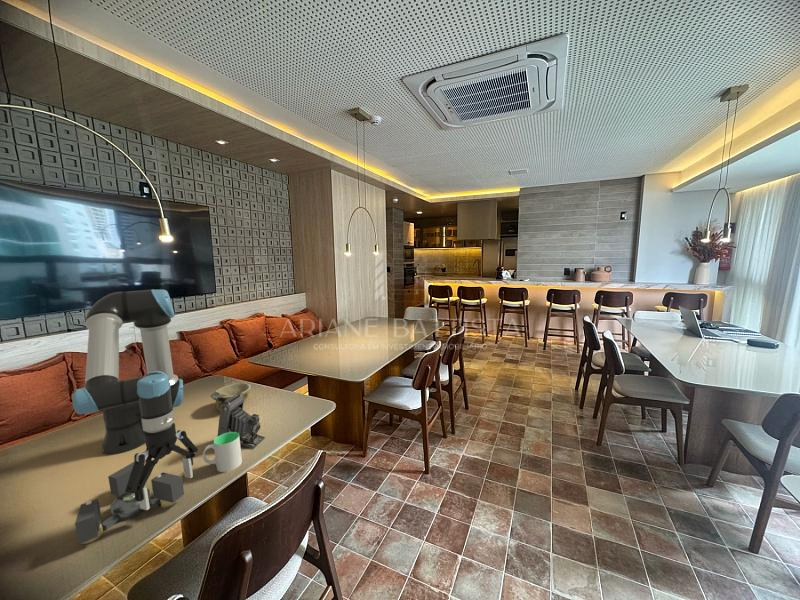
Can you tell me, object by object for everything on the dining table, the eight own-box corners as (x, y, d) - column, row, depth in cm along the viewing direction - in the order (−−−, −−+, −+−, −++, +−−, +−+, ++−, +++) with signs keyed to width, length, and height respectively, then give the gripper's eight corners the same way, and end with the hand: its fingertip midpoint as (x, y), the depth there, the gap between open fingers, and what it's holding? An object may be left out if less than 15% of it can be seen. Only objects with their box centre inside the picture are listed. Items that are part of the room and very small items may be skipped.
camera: (250, 459, 123) (257, 413, 119) (213, 445, 125) (219, 400, 122) (267, 443, 133) (274, 400, 130) (232, 430, 136) (239, 388, 133)
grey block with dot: (111, 499, 99) (106, 474, 98) (138, 482, 106) (134, 458, 105) (120, 502, 98) (116, 476, 96) (147, 484, 105) (144, 460, 104)
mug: (202, 478, 107) (198, 449, 106) (206, 464, 115) (203, 437, 113) (241, 468, 112) (238, 441, 111) (242, 455, 119) (240, 429, 118)
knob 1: (77, 552, 81) (72, 522, 80) (83, 531, 87) (78, 503, 86) (101, 542, 83) (95, 513, 82) (104, 523, 90) (100, 495, 89)
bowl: (241, 396, 172) (239, 380, 171) (258, 404, 162) (257, 387, 161) (206, 409, 158) (204, 391, 157) (223, 419, 148) (221, 400, 147)
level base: (87, 523, 90) (84, 508, 89) (132, 493, 101) (130, 479, 101) (121, 534, 86) (118, 518, 85) (164, 501, 97) (162, 487, 97)
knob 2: (172, 509, 94) (169, 483, 93) (153, 504, 96) (149, 479, 95) (186, 499, 98) (183, 473, 97) (167, 494, 100) (163, 469, 99)
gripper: (121, 453, 81) (132, 527, 84) (205, 408, 105) (212, 467, 107) (101, 449, 83) (113, 521, 86) (188, 406, 107) (195, 464, 109)
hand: (168, 491), depth 96 cm, fingers open, 13 cm apart
